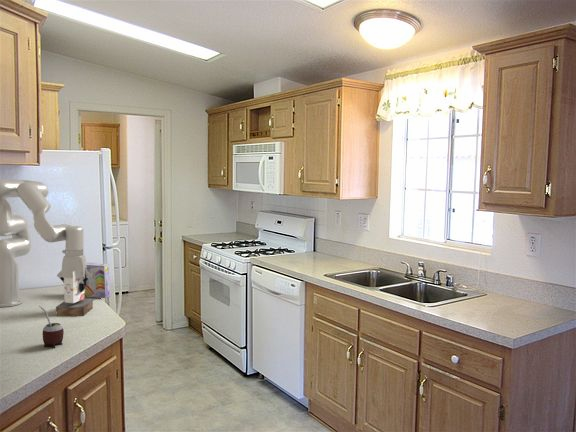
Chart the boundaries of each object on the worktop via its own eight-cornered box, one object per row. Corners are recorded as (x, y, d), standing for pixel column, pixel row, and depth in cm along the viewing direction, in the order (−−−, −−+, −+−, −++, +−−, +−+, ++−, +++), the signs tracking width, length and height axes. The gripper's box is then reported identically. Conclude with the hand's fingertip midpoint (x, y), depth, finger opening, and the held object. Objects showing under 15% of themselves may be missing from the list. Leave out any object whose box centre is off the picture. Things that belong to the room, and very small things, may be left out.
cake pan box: (72, 296, 246) (72, 262, 244) (78, 293, 251) (78, 261, 249) (104, 299, 242) (104, 265, 240) (110, 297, 247) (110, 263, 245)
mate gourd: (64, 347, 176) (64, 308, 175) (41, 350, 172) (40, 310, 170) (62, 340, 182) (61, 302, 181) (39, 344, 178) (38, 305, 176)
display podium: (55, 315, 212) (55, 307, 212) (66, 307, 225) (66, 299, 224) (84, 316, 213) (84, 307, 213) (93, 308, 226) (93, 300, 225)
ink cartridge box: (75, 297, 223) (75, 267, 222) (84, 298, 222) (85, 268, 221) (63, 302, 215) (63, 270, 213) (73, 303, 214) (73, 271, 213)
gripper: (51, 253, 212) (51, 293, 214) (91, 254, 214) (90, 293, 215) (58, 251, 220) (58, 289, 221) (96, 252, 221) (96, 289, 223)
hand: (74, 291), depth 218 cm, fingers closed on ink cartridge box, 5 cm apart
